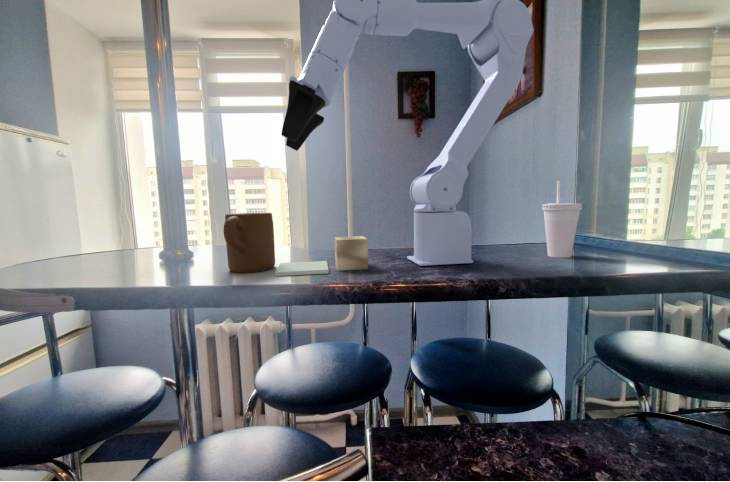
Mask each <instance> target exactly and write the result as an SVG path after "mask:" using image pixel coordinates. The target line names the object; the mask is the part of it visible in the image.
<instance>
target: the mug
mask: <svg viewBox="0 0 730 482" xmlns="http://www.w3.org/2000/svg"><path fill="white" fill-rule="evenodd" d="M224 217H225V219H224V223H223V238H224V240H225V244H226V253H227V254H226V255H227V266H228V269H229V271H230V272H232V273H238V274H250V273H259V272H260V273H261V272H265V271H269V270H272V269H274V267H275V266H276V265H275V264H276V255H275V252H276V251H275V250H276V249H275V236H274V235H275V232H274V229H275V228H274V221H273V220H274V219H273V213H272V212H245V213H240V212H239V213H227V214H226V213H225V216H224Z"/></svg>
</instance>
